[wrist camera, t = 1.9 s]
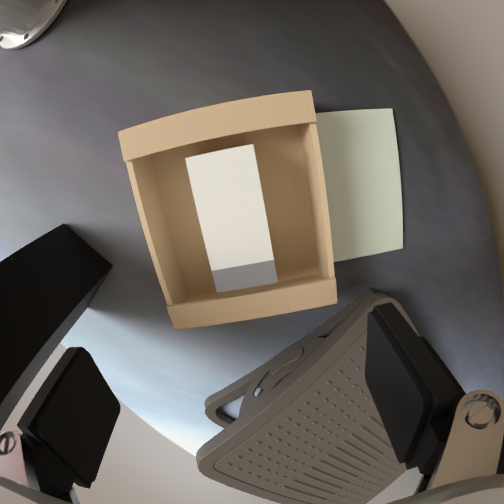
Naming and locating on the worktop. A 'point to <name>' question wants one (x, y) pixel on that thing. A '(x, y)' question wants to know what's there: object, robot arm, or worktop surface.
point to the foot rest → (307, 421)
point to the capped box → (232, 217)
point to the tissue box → (42, 305)
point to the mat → (361, 181)
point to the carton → (274, 195)
